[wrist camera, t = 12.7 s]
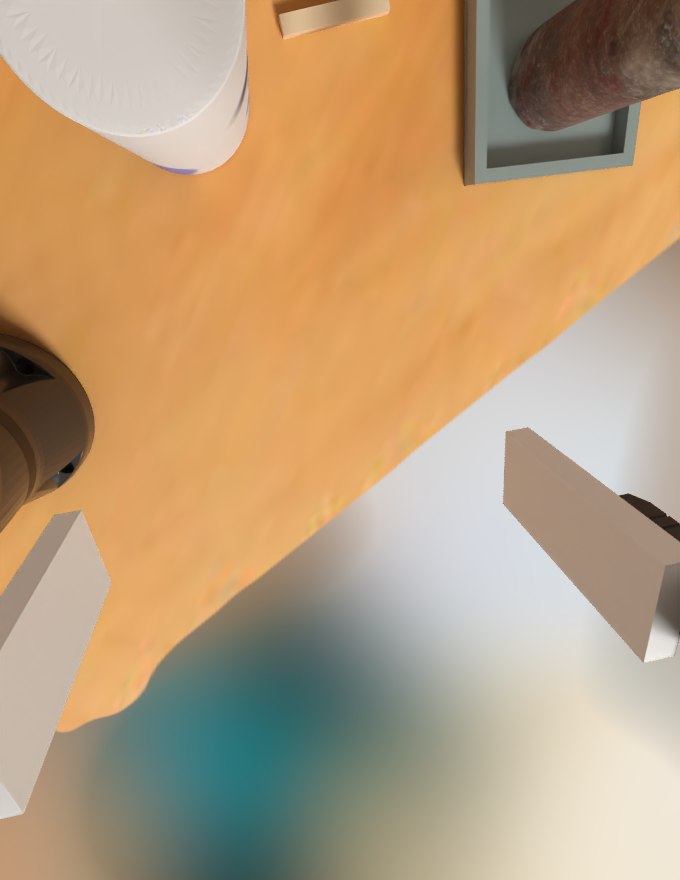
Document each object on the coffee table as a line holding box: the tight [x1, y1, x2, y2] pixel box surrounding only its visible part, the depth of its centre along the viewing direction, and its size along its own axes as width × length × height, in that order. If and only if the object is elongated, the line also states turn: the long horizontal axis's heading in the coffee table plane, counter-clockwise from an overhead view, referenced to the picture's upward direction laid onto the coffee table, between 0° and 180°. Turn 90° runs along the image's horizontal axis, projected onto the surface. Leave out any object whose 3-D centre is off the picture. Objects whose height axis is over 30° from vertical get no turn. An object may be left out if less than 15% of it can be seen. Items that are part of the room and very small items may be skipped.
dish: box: [464, 0, 641, 186], centre depth 38 cm, size 14×14×2 cm
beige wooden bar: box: [279, 0, 390, 39], centre depth 35 cm, size 8×1×1 cm, turn 102°
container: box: [0, 0, 249, 175], centre depth 27 cm, size 10×10×20 cm
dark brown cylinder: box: [508, 0, 680, 131], centre depth 30 cm, size 8×7×20 cm
